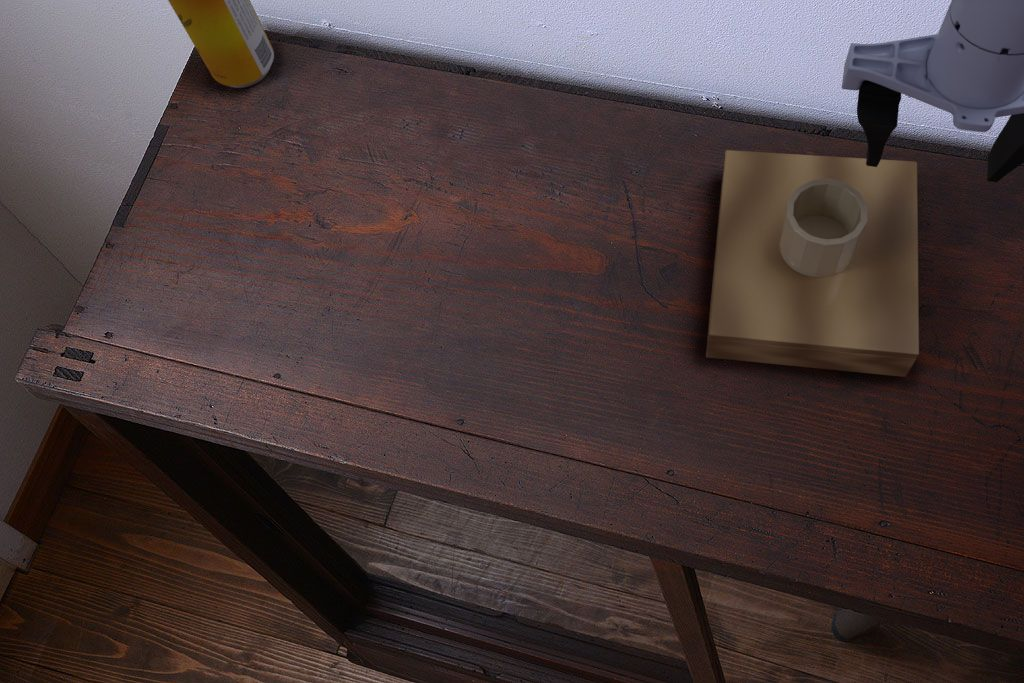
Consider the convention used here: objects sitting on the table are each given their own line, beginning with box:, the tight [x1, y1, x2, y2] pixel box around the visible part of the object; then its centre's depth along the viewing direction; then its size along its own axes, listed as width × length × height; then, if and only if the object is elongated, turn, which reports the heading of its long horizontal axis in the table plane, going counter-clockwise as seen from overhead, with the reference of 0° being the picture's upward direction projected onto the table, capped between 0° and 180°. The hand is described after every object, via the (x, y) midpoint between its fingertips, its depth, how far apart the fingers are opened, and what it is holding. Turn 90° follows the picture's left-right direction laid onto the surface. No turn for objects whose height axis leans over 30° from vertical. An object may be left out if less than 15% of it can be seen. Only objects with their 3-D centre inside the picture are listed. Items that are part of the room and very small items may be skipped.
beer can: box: [167, 0, 275, 89], centre depth 83 cm, size 6×6×15 cm
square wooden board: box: [705, 149, 920, 378], centre depth 72 cm, size 14×16×4 cm
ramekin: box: [779, 179, 868, 277], centre depth 68 cm, size 5×5×4 cm
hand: (932, 161), depth 65 cm, fingers open, 7 cm apart
